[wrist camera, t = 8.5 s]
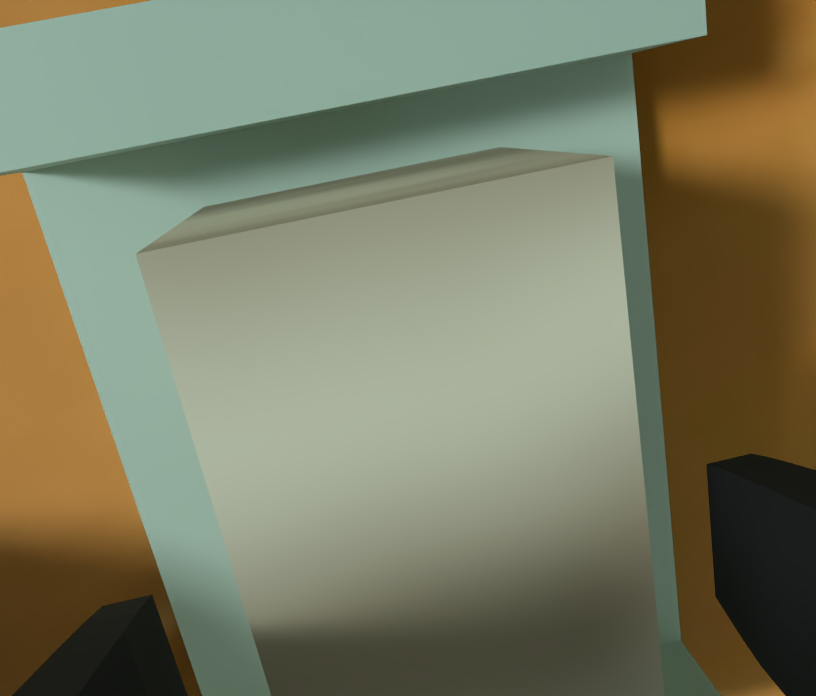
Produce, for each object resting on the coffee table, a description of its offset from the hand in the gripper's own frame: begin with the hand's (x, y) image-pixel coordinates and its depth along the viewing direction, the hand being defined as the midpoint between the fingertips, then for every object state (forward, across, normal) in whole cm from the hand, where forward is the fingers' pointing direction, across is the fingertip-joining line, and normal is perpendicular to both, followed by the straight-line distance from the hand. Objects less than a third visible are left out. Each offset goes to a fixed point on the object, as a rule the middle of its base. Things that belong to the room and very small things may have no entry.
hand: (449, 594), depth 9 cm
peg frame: (+5, 0, 0) cm, 5 cm away
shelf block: (+3, 0, 0) cm, 3 cm away
